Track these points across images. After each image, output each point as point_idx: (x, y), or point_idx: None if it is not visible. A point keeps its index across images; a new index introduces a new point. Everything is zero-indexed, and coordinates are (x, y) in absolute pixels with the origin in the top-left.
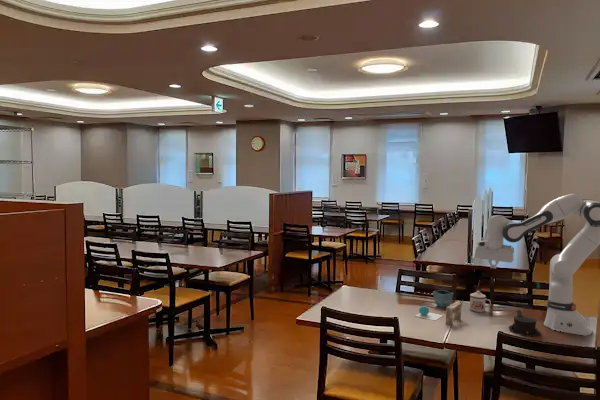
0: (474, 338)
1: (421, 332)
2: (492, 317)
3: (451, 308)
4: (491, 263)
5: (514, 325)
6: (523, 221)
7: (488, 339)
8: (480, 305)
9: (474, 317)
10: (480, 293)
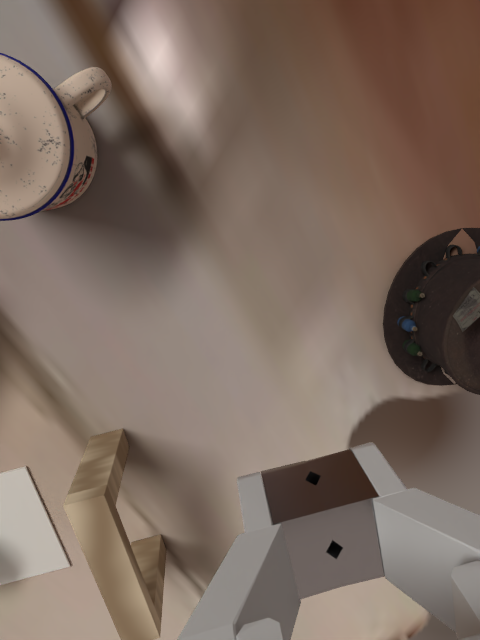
0: (337, 588)
1: None
2: (213, 224)
3: (156, 636)
4: (276, 595)
5: (430, 356)
6: None
7: None
8: (77, 186)
9: (146, 330)
10: (4, 135)
